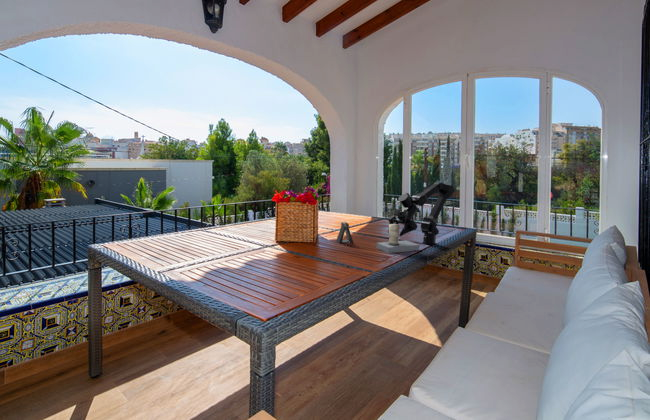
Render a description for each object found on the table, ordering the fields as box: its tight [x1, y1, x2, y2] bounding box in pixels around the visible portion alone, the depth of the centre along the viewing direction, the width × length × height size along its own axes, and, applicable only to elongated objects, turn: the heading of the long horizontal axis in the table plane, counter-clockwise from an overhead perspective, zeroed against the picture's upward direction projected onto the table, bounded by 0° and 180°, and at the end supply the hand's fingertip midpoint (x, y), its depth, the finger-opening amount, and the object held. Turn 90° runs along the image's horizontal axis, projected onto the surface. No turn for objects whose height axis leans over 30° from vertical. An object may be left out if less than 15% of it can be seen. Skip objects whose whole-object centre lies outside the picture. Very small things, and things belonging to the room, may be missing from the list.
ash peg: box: [388, 223, 400, 246], centre depth 195 cm, size 6×6×14 cm
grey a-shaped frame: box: [336, 221, 354, 244], centre depth 213 cm, size 9×6×12 cm, turn 104°
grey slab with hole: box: [376, 240, 420, 254], centre depth 197 cm, size 20×12×3 cm, turn 112°
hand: (393, 234), depth 195 cm, fingers open, 9 cm apart
